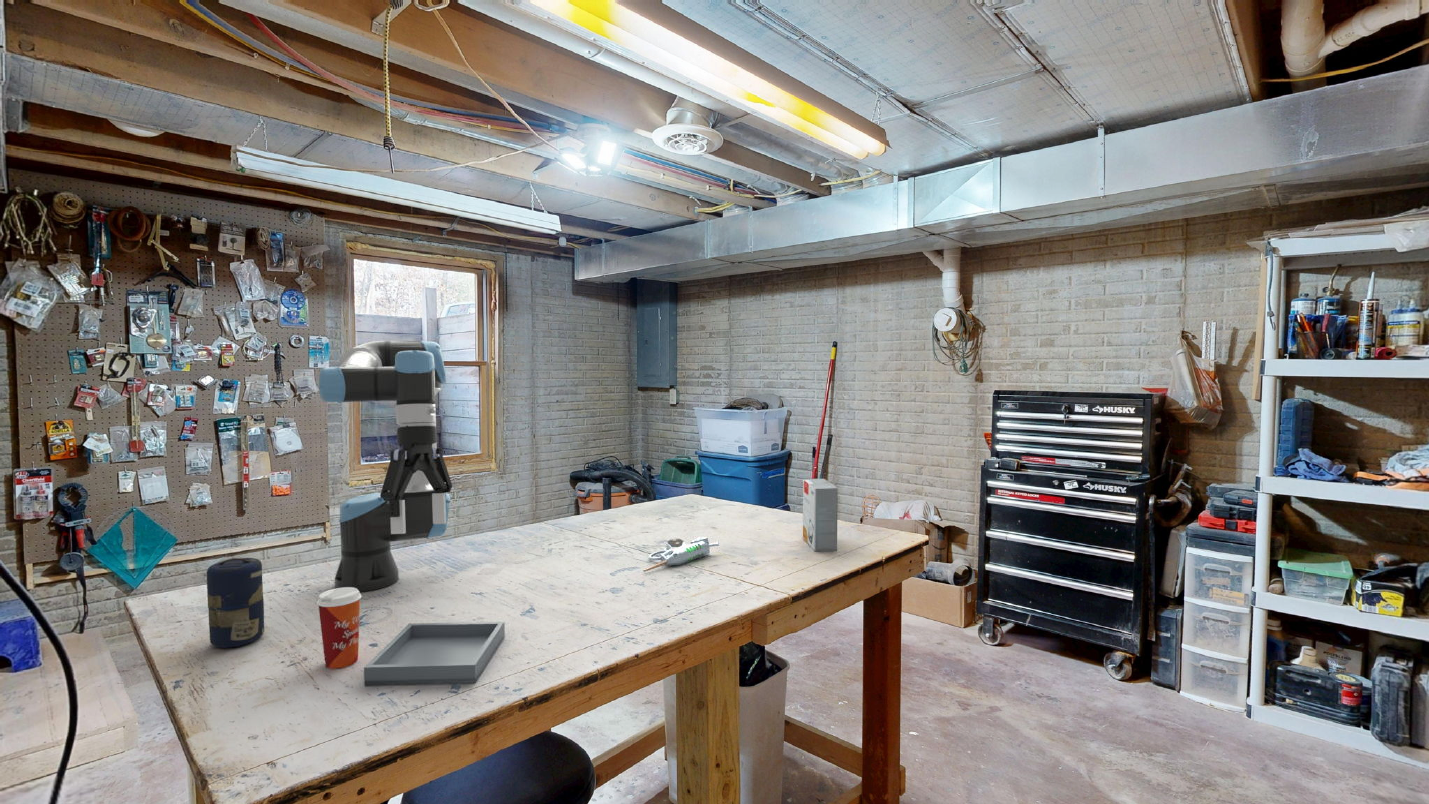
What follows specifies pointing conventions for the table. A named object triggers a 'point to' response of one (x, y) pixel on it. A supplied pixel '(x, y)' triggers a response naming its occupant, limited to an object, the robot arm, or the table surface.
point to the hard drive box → (820, 514)
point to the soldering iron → (681, 552)
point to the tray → (436, 654)
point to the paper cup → (340, 626)
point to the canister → (235, 602)
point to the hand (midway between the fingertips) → (420, 528)
